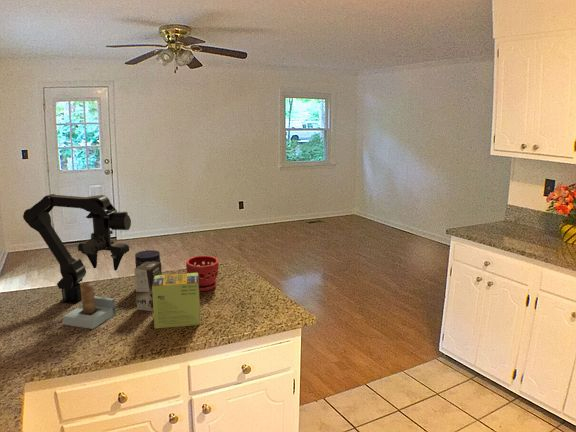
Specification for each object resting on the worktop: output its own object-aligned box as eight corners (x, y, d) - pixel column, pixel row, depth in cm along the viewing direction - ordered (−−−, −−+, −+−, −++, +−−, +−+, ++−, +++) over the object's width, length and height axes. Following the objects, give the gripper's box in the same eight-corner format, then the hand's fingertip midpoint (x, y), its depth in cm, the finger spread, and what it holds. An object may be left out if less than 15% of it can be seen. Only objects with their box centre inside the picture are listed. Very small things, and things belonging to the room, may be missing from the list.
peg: (81, 320, 155) (77, 285, 152) (89, 315, 158) (85, 281, 156) (91, 322, 154) (87, 287, 151) (98, 317, 157) (95, 283, 154)
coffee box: (152, 311, 162) (149, 269, 159) (136, 309, 164) (133, 268, 160) (164, 301, 171) (161, 261, 168) (148, 299, 172) (146, 260, 169)
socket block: (63, 324, 152) (61, 308, 151) (87, 309, 163) (86, 294, 162) (93, 329, 149) (91, 312, 147) (115, 314, 160) (114, 298, 159)
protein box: (200, 325, 152) (198, 282, 149) (154, 329, 149) (151, 286, 146) (200, 312, 162) (198, 272, 159) (156, 315, 159) (153, 275, 156)
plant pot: (181, 292, 180) (180, 264, 178) (195, 280, 193) (194, 254, 190) (212, 295, 178) (211, 266, 175) (223, 283, 190) (222, 256, 187)
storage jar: (152, 281, 191) (149, 248, 187) (167, 287, 185) (165, 253, 182) (132, 289, 183) (129, 254, 180) (147, 294, 177) (144, 259, 174)
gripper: (64, 232, 160) (69, 273, 163) (109, 237, 155) (112, 279, 158) (86, 225, 170) (90, 264, 174) (128, 229, 165) (131, 268, 169)
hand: (105, 269), depth 168 cm, fingers open, 9 cm apart
